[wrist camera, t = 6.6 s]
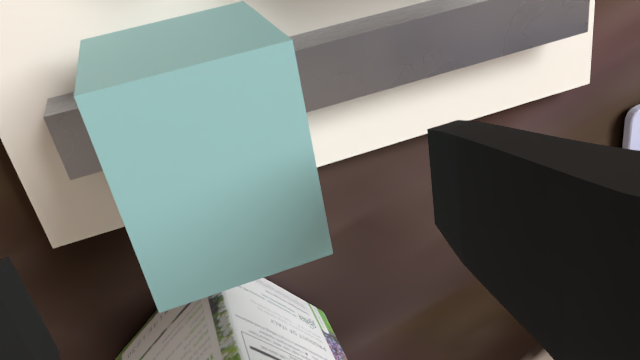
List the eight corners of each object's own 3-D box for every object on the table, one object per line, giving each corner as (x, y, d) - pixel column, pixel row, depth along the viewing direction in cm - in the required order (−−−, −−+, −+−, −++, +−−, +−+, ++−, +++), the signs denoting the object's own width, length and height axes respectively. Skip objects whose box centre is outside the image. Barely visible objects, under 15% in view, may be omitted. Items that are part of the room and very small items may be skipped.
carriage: (235, -6, 16) (292, 39, 11) (273, 160, 18) (333, 253, 13) (81, 31, 15) (73, 96, 10) (143, 199, 17) (159, 313, 13)
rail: (558, -33, 19) (591, -27, 18) (556, 22, 20) (587, 31, 19) (47, 98, 16) (43, 117, 15) (72, 157, 17) (70, 180, 15)
